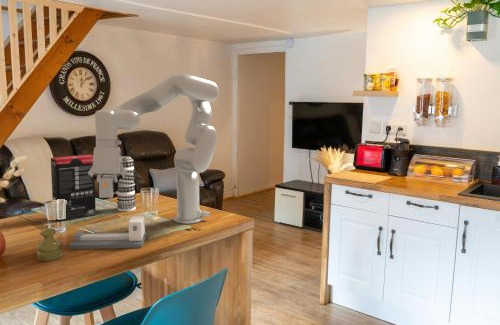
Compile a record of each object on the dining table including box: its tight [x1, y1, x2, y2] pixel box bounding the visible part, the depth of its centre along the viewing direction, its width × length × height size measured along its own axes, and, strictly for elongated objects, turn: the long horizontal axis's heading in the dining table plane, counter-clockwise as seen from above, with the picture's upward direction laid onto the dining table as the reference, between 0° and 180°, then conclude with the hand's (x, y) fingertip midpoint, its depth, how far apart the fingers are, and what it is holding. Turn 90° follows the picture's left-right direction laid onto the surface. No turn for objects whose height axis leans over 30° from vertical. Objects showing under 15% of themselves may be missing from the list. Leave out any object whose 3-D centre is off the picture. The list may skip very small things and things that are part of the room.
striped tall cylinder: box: [116, 155, 137, 212], centre depth 200 cm, size 9×9×25 cm
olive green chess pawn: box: [36, 227, 63, 262], centre depth 141 cm, size 7×7×10 cm
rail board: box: [68, 215, 148, 250], centre depth 156 cm, size 25×13×9 cm, turn 95°
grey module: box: [98, 174, 118, 199], centre depth 159 cm, size 4×9×7 cm, turn 4°
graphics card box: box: [50, 154, 97, 221], centre depth 186 cm, size 17×7×27 cm, turn 134°
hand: (108, 191), depth 159 cm, fingers closed on grey module, 4 cm apart
